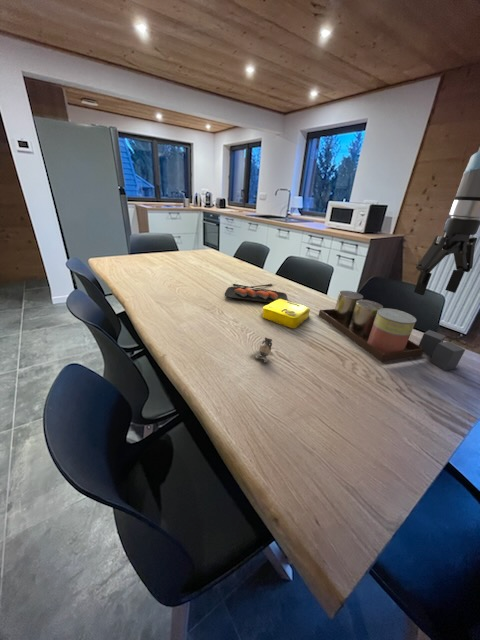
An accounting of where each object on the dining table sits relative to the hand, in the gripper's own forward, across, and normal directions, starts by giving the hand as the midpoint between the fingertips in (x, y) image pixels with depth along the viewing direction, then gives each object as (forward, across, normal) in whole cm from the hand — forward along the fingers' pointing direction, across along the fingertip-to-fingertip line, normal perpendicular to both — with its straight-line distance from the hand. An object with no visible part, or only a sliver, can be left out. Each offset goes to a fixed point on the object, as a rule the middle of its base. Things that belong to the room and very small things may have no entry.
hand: (434, 292), depth 80 cm
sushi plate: (+20, +32, -62) cm, 73 cm away
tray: (+21, +8, -14) cm, 27 cm away
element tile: (+21, +31, -33) cm, 50 cm away
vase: (+21, +51, -8) cm, 56 cm away
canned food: (+21, +8, -4) cm, 23 cm away
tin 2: (+20, +8, -15) cm, 27 cm away
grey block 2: (+22, -4, +8) cm, 24 cm away
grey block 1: (+22, -6, +1) cm, 22 cm away
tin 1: (+20, +8, -25) cm, 33 cm away
